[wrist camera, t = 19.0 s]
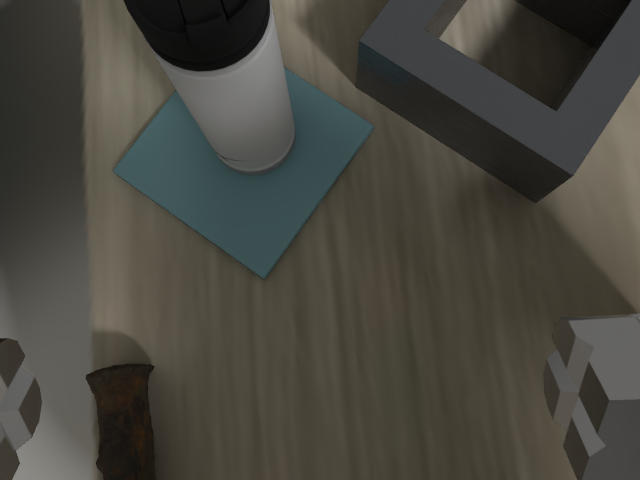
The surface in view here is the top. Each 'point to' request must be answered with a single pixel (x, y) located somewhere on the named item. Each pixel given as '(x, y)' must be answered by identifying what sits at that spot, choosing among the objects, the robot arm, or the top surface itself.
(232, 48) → the travel mug
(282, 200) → the rubber mat
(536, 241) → the top surface
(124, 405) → the hand tool
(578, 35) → the square collar
